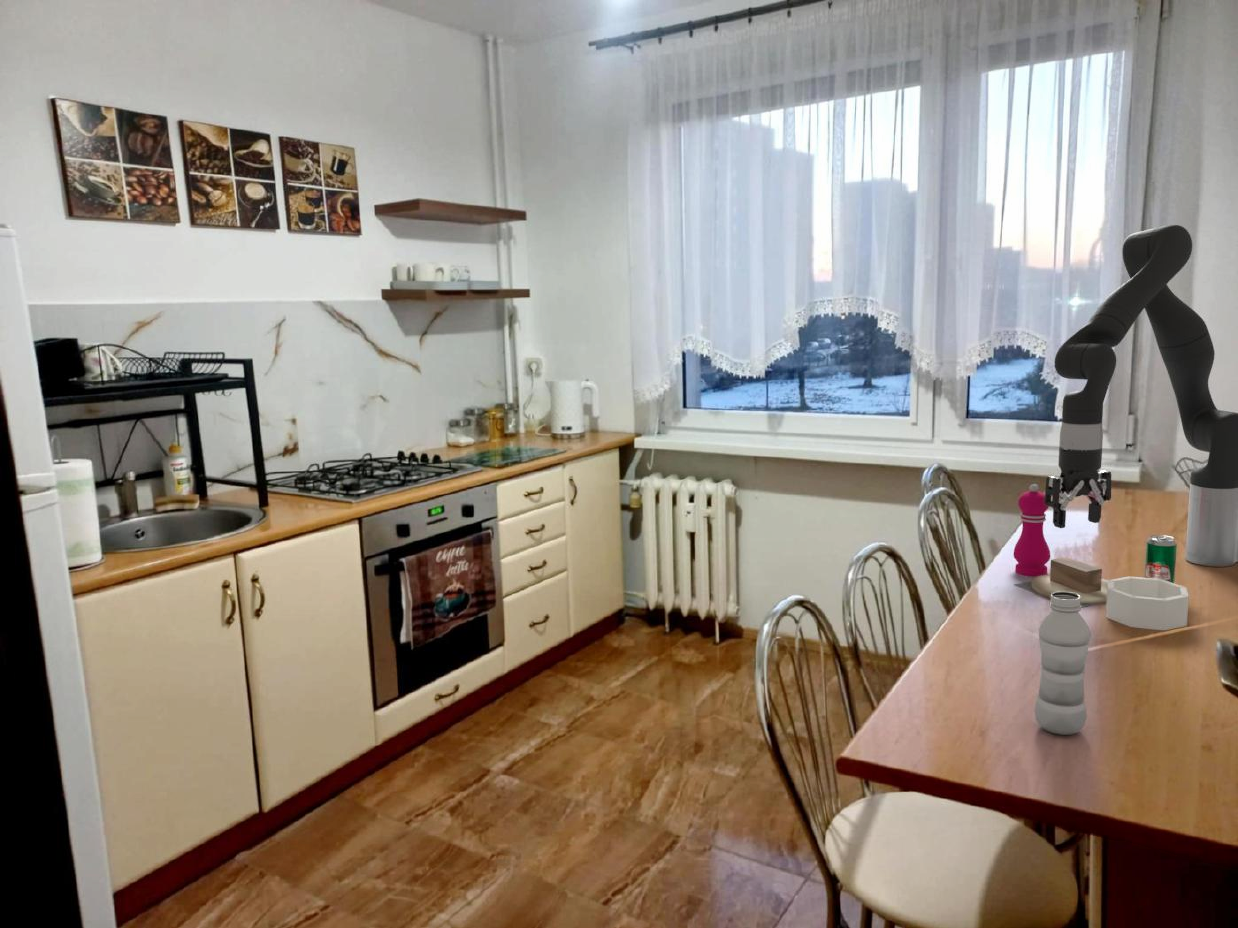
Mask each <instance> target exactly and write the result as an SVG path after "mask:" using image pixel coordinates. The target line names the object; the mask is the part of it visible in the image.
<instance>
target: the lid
mask: <svg viewBox="0 0 1238 928" xmlns="http://www.w3.org/2000/svg"><path fill="white" fill-rule="evenodd" d="M1102 574H1103V569H1102V568H1100V567H1097V566H1095V565H1091V564H1088V563H1086V562H1082V561H1080V560H1076V559H1074V558H1069V557H1068V556H1066V557H1065V556H1064V557H1059V558H1053V559H1050V573H1047V574H1045V575H1041V576H1038V577H1033V578H1032V580H1031V581H1032V582H1031V588H1032V590H1033V591H1035V592H1036V593H1038V594H1039V595H1038V594H1037V595H1038V596H1041V595H1042V596H1041V597H1043V596H1044V598H1046V597H1047V598H1046V599H1048V598H1050V599H1049V600H1051V594H1052V593H1054V592H1071V593H1075V594H1078V595H1079V596H1080V603H1084V604H1095V603H1103V604H1106V603H1105V602H1106V597H1107V580H1108V579H1104V578H1102ZM1036 593H1035V594H1036Z"/></svg>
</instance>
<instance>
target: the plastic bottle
mask: <svg viewBox="0 0 1238 928" xmlns="http://www.w3.org/2000/svg"><path fill="white" fill-rule="evenodd" d="M1049 609H1050V610H1051V611H1050V612H1048V614H1046V616H1045V617H1044V618H1043V619H1042V621H1041V623H1040V624H1039V627H1038V639H1039V640H1038V641H1039V648H1040V649H1039V650H1040V659H1041V662H1040V665H1041V667H1040V668H1041V669H1040V671H1041V672H1040V682H1039V686H1038V687H1039V688H1038V694H1037V697H1036V699H1035V704H1034V714H1035V715H1034V716H1035V720H1036V722H1037V724H1038V725H1039V727H1040V728H1041V729H1043V730H1045V731H1047V732H1049V733H1052V734H1055V735H1056V734H1057V735H1063V736H1066V735H1075V734H1078V733H1080V731H1082V730H1083V729H1084V728H1085V725H1086V721H1087V717H1088V714H1087V706H1086V700H1085V686H1084V683H1085V682H1084V679H1085V670H1086V669H1085V668H1086V660H1087V657H1088V656H1087V655H1088V652H1089V648H1090V642H1091V639H1092V638H1091V637H1092V634H1091V630H1090V627H1089V625H1088V623H1087V622H1086V620H1085V619H1084V618H1083V616H1082V615H1081V614H1080V611H1081V610H1082V608H1081V605H1080V596H1079V595H1078V594H1075V593H1071V592H1054V593H1052V594H1051V599H1050V602H1049Z"/></svg>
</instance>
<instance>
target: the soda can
mask: <svg viewBox="0 0 1238 928" xmlns="http://www.w3.org/2000/svg"><path fill="white" fill-rule="evenodd" d="M1177 547H1178V545H1177V542H1176V541H1175V537H1173V536H1169V535H1163V534H1155V535H1154V534H1153V535H1149V536H1148V539H1147V540H1146V542H1145V560H1144V561H1145V562H1144V577H1143V578H1154V579H1162V580H1165V581H1168V582H1172V583H1175V578H1176V577H1175V575H1176V565H1177V563H1176V562H1177Z"/></svg>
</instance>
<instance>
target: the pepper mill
mask: <svg viewBox="0 0 1238 928" xmlns="http://www.w3.org/2000/svg"><path fill="white" fill-rule="evenodd" d="M1039 489H1040V488H1039V486H1038V484H1035V483H1034V484H1031V485H1030V486H1029V490H1028V491H1026V492H1023V493H1021V494H1020V496H1019V498H1018V500H1017V501H1018V502H1017V506H1018V508H1019V510H1021V512H1020V513H1019V515H1020V517H1019V519H1020V520H1021V522H1022V528H1021V529H1022V530H1021V534H1020V536H1019V538H1018V540H1017V542H1016V544H1015V546H1014V550H1013V558H1014V559H1015V561H1016V562H1017V563H1016V564H1015V573H1016V574H1019V575H1021V576H1024V577H1025V576H1026V577H1033V578H1035V577H1038V576H1041V575H1045V574H1048V566H1047V565H1046V564H1047V563H1048V562H1049V561H1051V551H1050V547H1049V545H1048V543H1047V541H1046V538H1045V535H1044V523H1045V522H1046V520H1047V519H1046V517H1047V514H1046V512H1047V511H1048V509H1049V506H1046V505H1045V504H1044V500H1045V493H1043V492H1042V491H1039Z"/></svg>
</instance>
